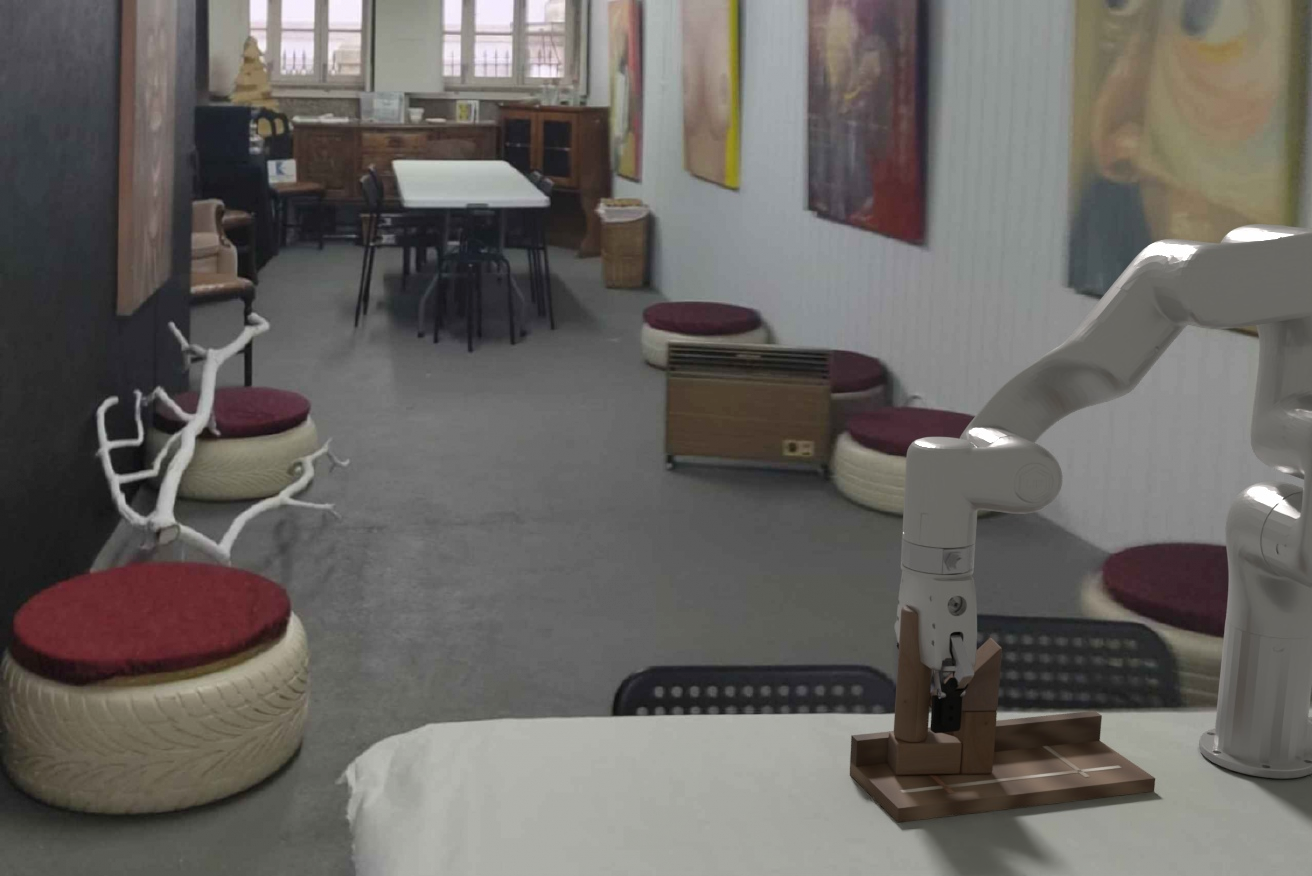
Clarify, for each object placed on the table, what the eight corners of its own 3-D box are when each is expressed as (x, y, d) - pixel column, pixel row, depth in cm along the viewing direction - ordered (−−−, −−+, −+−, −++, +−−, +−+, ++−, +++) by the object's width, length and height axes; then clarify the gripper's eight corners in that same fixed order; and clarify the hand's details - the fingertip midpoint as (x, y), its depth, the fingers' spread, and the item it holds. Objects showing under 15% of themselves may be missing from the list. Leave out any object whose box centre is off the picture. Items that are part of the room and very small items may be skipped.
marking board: (1091, 748, 170) (1094, 710, 169) (1154, 791, 159) (1157, 751, 158) (849, 774, 161) (851, 735, 161) (897, 822, 150) (899, 780, 149)
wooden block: (993, 775, 158) (1005, 613, 155) (895, 777, 157) (905, 613, 154) (982, 761, 162) (994, 602, 158) (885, 763, 161) (895, 603, 157)
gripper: (1012, 577, 148) (1000, 745, 151) (932, 533, 164) (923, 686, 167) (943, 582, 146) (933, 753, 149) (869, 537, 162) (862, 692, 165)
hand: (928, 716), depth 158 cm, fingers open, 7 cm apart
